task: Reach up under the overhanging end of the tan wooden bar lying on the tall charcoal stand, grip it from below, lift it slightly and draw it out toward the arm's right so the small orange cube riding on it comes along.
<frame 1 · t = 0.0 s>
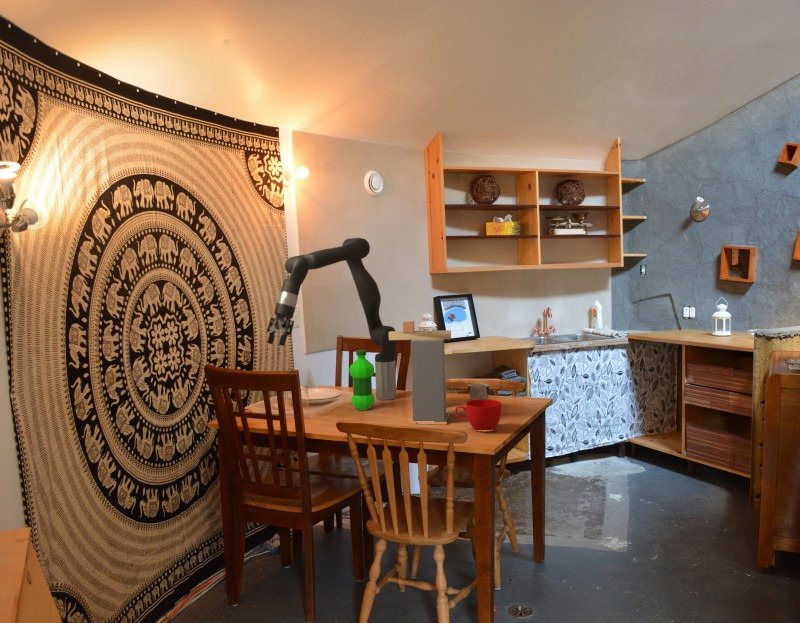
hand: (275, 344, 245), 31 cm above the table, tool tilted 20°, fingers open, 8 cm apart
tan wooden bar: (419, 339, 243), point 32 cm above the table, touching orange cube, stand
stand: (429, 419, 246), on the table
cracker box: (429, 406, 269), on the table
ceramic cup: (478, 430, 230), on the table
orange cube: (408, 331, 244), point 35 cm above the table, touching tan wooden bar
plastic bottle: (363, 409, 268), on the table
coffee mug: (478, 408, 262), on the table
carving: (478, 415, 251), on the table
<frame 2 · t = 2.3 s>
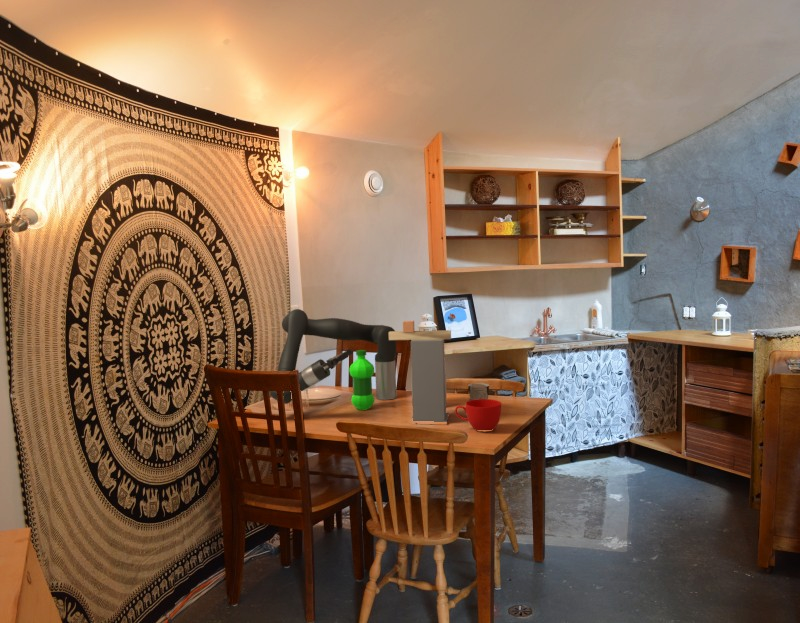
hand: (349, 352, 248), 27 cm above the table, tool pointing upward, fingers open, 8 cm apart
nothing on the table moved.
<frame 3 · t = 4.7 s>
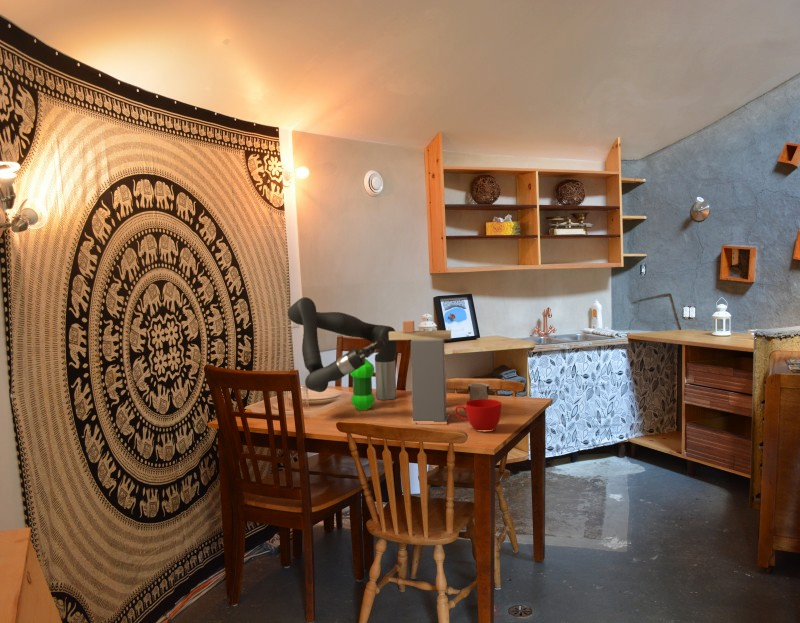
hand: (385, 340, 245), 31 cm above the table, tool pointing upward, fingers open, 8 cm apart
nothing on the table moved.
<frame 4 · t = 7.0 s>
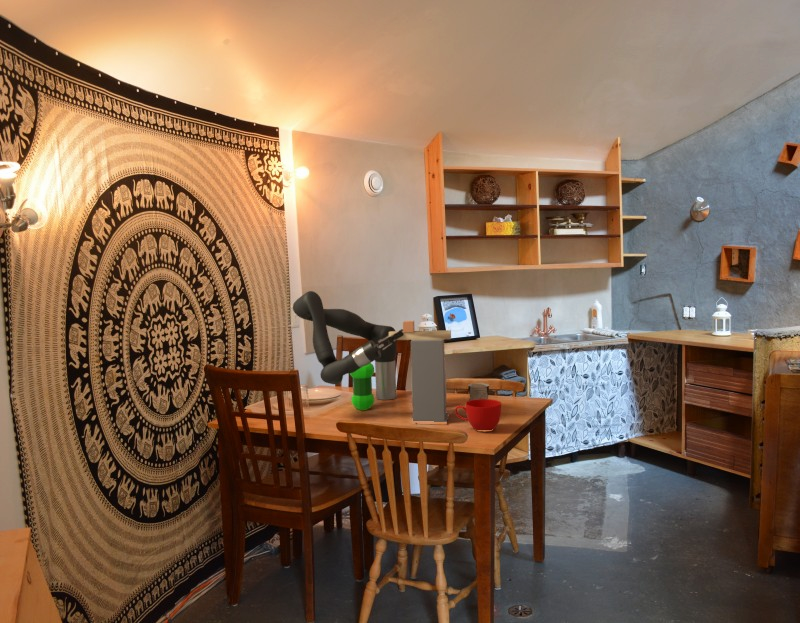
hand: (402, 331, 244), 35 cm above the table, tool pointing upward, fingers closed on tan wooden bar, 3 cm apart
tan wooden bar: (419, 339, 243), point 32 cm above the table, touching gripper, orange cube, stand
everything else where it was.
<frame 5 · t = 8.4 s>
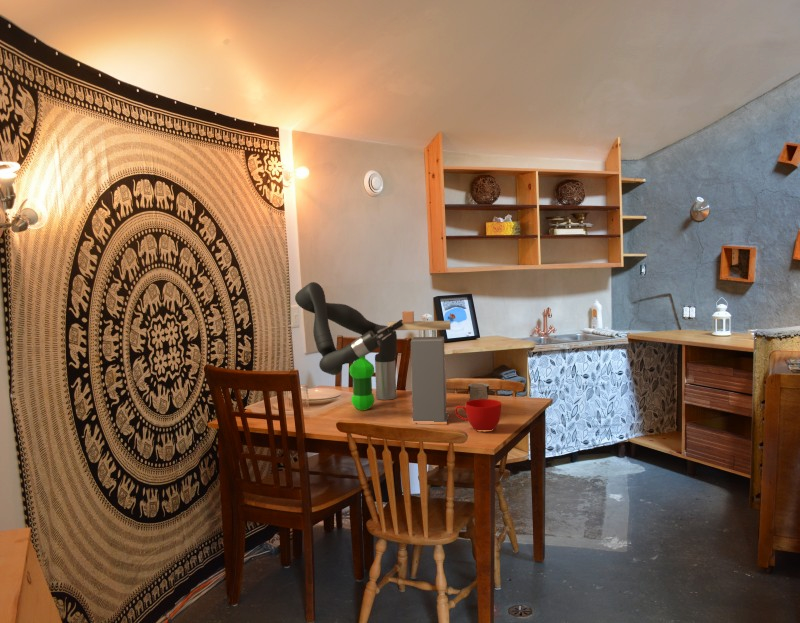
hand: (402, 322, 244), 39 cm above the table, tool pointing upward, fingers closed on tan wooden bar, 3 cm apart
tan wooden bar: (419, 329, 243), point 36 cm above the table, touching gripper, orange cube
orange cube: (408, 321, 243), point 39 cm above the table, touching tan wooden bar
everything else where it was.
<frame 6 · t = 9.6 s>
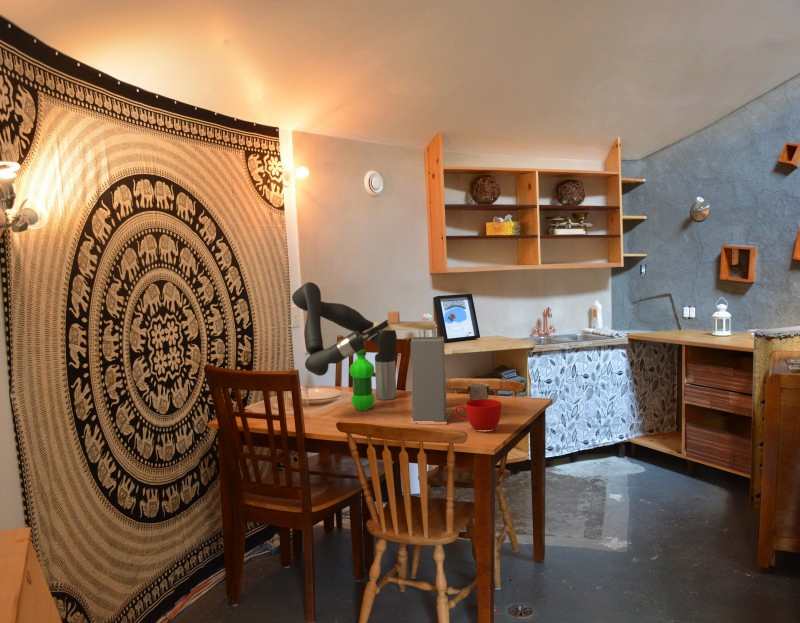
hand: (387, 322, 244), 39 cm above the table, tool pointing upward, fingers closed on tan wooden bar, 3 cm apart
tan wooden bar: (404, 329, 244), point 36 cm above the table, touching gripper, orange cube
orange cube: (393, 322, 244), point 39 cm above the table, touching tan wooden bar
everything else where it was.
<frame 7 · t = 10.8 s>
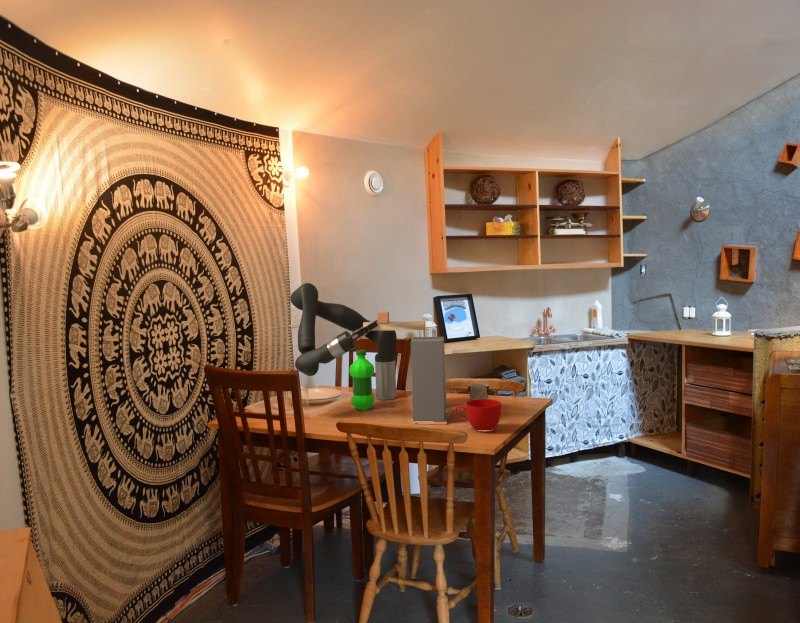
hand: (377, 322, 245), 39 cm above the table, tool pointing upward, fingers closed on tan wooden bar, 3 cm apart
tan wooden bar: (394, 329, 244), point 36 cm above the table, touching gripper, orange cube
orange cube: (383, 322, 245), point 39 cm above the table, touching tan wooden bar
everything else where it was.
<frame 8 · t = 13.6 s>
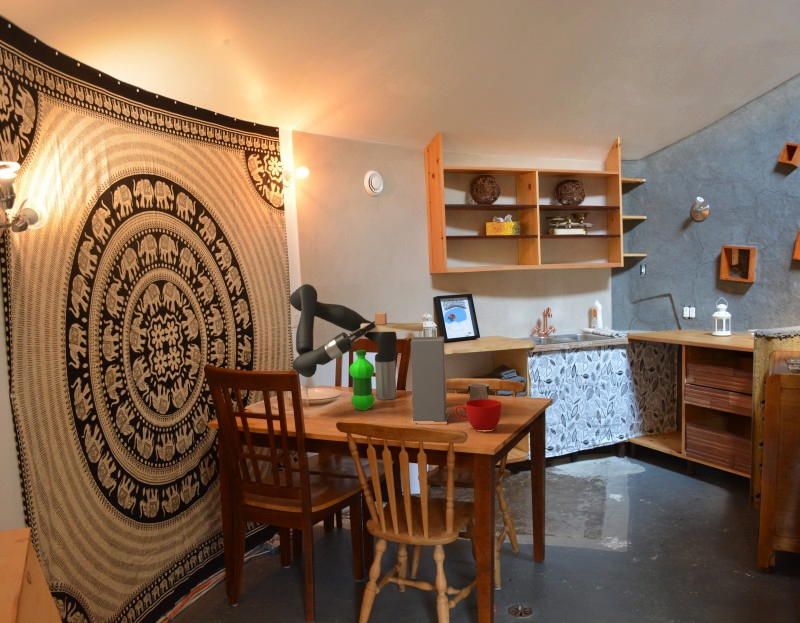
hand: (375, 323, 245), 38 cm above the table, tool pointing upward, fingers closed on tan wooden bar, 3 cm apart
tan wooden bar: (391, 331, 245), point 35 cm above the table, touching gripper, orange cube
orange cube: (380, 323, 245), point 38 cm above the table, touching tan wooden bar
everything else where it was.
at the end: tan wooden bar inside the target area (0.4 cm from its centre), point 35.3 cm above the table; the gripper is holding tan wooden bar; orange cube inside the target area on the tan wooden bar (1.2 cm from its centre), point 3.0 cm above the tan wooden bar's base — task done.
